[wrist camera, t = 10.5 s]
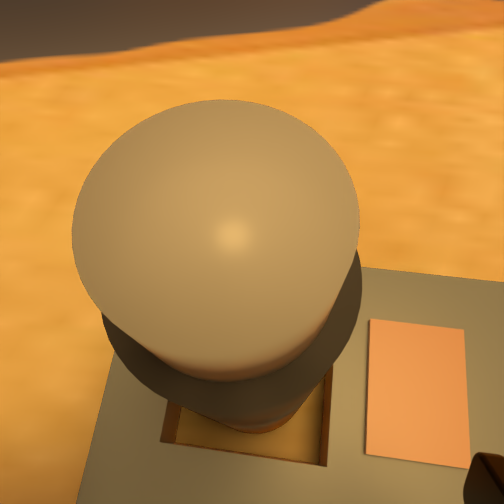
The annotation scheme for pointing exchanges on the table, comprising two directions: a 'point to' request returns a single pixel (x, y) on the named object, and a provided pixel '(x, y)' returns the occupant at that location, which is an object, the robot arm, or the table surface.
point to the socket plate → (337, 412)
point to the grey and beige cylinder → (223, 258)
